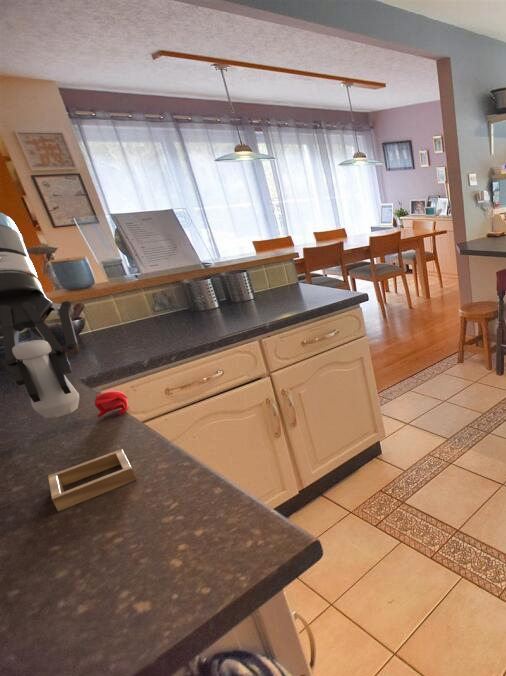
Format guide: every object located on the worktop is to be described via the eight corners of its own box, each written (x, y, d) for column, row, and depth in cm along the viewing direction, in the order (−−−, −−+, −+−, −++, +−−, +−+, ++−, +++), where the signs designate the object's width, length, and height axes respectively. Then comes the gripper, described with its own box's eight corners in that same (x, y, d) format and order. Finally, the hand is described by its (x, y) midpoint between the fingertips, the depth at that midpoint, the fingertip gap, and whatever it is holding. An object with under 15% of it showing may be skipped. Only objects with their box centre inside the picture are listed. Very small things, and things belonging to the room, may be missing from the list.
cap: (100, 412, 105) (91, 390, 103) (132, 404, 109) (123, 382, 107) (96, 424, 99) (86, 401, 97) (130, 415, 102) (120, 392, 100)
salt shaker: (46, 410, 77) (13, 341, 72) (88, 401, 79) (59, 334, 75) (31, 424, 72) (-5, 351, 67) (77, 414, 74) (44, 343, 70)
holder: (53, 487, 77) (47, 475, 76) (126, 459, 84) (122, 448, 83) (58, 511, 71) (51, 499, 70) (136, 479, 78) (131, 467, 77)
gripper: (-74, 279, 69) (-34, 402, 63) (65, 262, 79) (110, 366, 74) (-53, 307, 74) (-14, 423, 69) (75, 288, 85) (117, 386, 79)
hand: (50, 393), depth 71 cm, fingers closed on salt shaker, 3 cm apart
